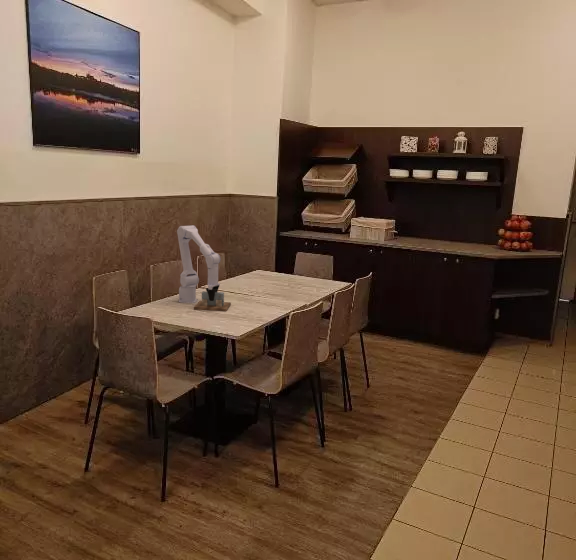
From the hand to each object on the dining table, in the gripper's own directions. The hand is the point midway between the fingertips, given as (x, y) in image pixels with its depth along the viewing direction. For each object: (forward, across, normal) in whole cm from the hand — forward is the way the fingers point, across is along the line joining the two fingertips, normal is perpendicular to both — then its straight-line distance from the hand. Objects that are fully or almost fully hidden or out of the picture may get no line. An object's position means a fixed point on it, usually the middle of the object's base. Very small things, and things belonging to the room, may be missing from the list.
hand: (212, 299), depth 282 cm
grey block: (+3, 0, 0) cm, 3 cm away
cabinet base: (+4, 0, 0) cm, 4 cm away
